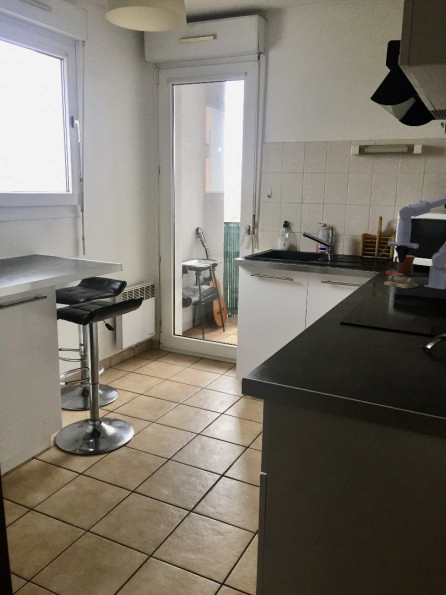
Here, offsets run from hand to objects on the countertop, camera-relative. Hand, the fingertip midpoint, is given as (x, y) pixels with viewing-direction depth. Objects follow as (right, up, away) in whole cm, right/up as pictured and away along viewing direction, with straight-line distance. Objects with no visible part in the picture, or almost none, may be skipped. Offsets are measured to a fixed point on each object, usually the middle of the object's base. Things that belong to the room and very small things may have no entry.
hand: (401, 262), depth 233 cm
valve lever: (-2, -6, +1) cm, 6 cm away
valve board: (0, -11, -1) cm, 11 cm away
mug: (+12, -5, +32) cm, 34 cm away
